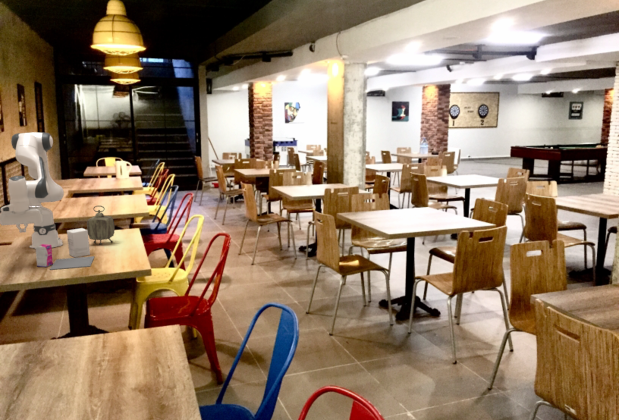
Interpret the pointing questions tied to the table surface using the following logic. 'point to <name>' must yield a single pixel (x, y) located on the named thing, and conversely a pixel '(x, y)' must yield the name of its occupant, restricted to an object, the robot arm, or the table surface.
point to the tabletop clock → (100, 227)
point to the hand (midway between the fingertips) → (22, 232)
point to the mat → (72, 263)
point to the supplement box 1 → (44, 255)
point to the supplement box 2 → (78, 242)
